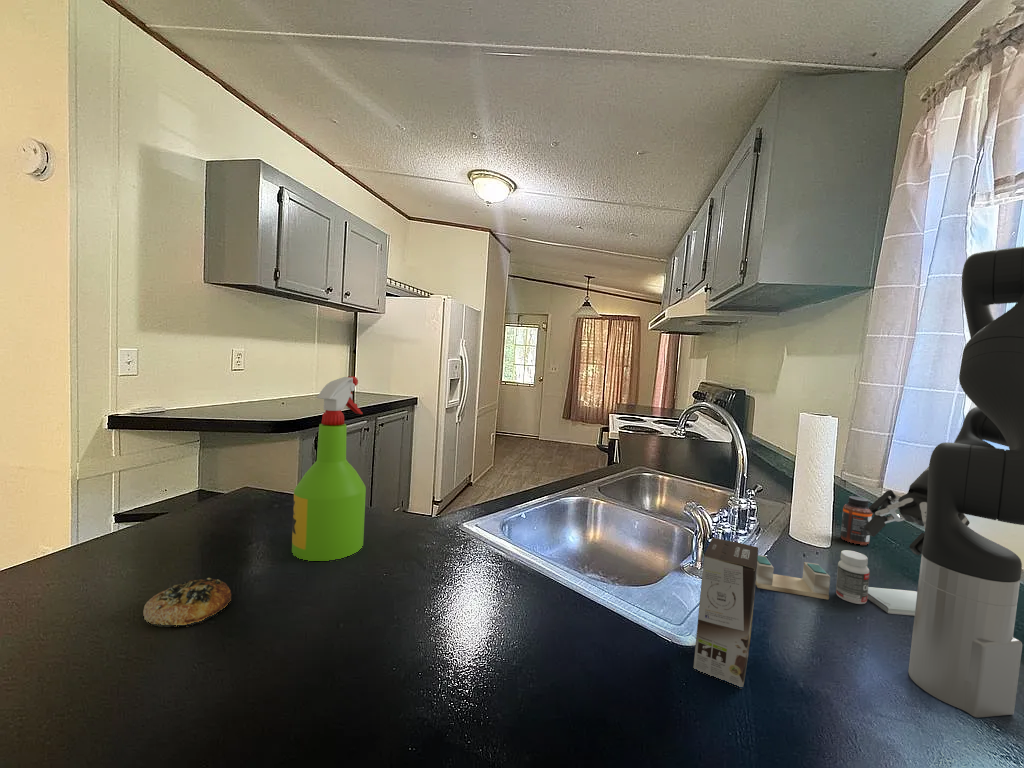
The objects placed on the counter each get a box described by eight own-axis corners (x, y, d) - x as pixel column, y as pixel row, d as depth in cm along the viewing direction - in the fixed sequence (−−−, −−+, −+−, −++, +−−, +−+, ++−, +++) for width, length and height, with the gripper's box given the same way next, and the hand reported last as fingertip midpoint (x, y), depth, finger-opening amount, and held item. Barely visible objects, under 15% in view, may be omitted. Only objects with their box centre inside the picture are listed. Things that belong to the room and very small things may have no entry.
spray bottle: (383, 531, 102) (390, 377, 101) (342, 566, 85) (351, 380, 83) (327, 524, 104) (333, 373, 103) (276, 557, 86) (283, 375, 85)
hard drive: (888, 607, 80) (961, 613, 80) (855, 584, 88) (921, 589, 88) (887, 616, 80) (960, 622, 80) (855, 593, 88) (920, 598, 88)
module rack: (815, 584, 89) (817, 562, 89) (828, 599, 84) (831, 576, 83) (749, 573, 92) (751, 552, 92) (757, 587, 87) (759, 564, 86)
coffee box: (744, 691, 58) (756, 569, 57) (691, 670, 61) (701, 554, 61) (750, 654, 66) (760, 546, 65) (703, 637, 69) (712, 534, 68)
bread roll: (236, 585, 75) (235, 558, 75) (226, 631, 66) (225, 601, 65) (153, 599, 71) (151, 570, 70) (130, 650, 61) (127, 618, 60)
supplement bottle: (875, 547, 112) (880, 502, 112) (851, 545, 112) (855, 501, 112) (857, 537, 118) (861, 495, 118) (834, 536, 118) (838, 494, 118)
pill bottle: (868, 607, 82) (872, 562, 81) (836, 599, 84) (840, 556, 83) (865, 596, 86) (868, 553, 85) (834, 588, 88) (838, 547, 88)
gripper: (899, 461, 93) (845, 515, 92) (981, 479, 79) (919, 543, 78) (917, 486, 94) (865, 540, 93) (1001, 509, 80) (941, 573, 79)
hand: (890, 542), depth 85 cm, fingers open, 8 cm apart
